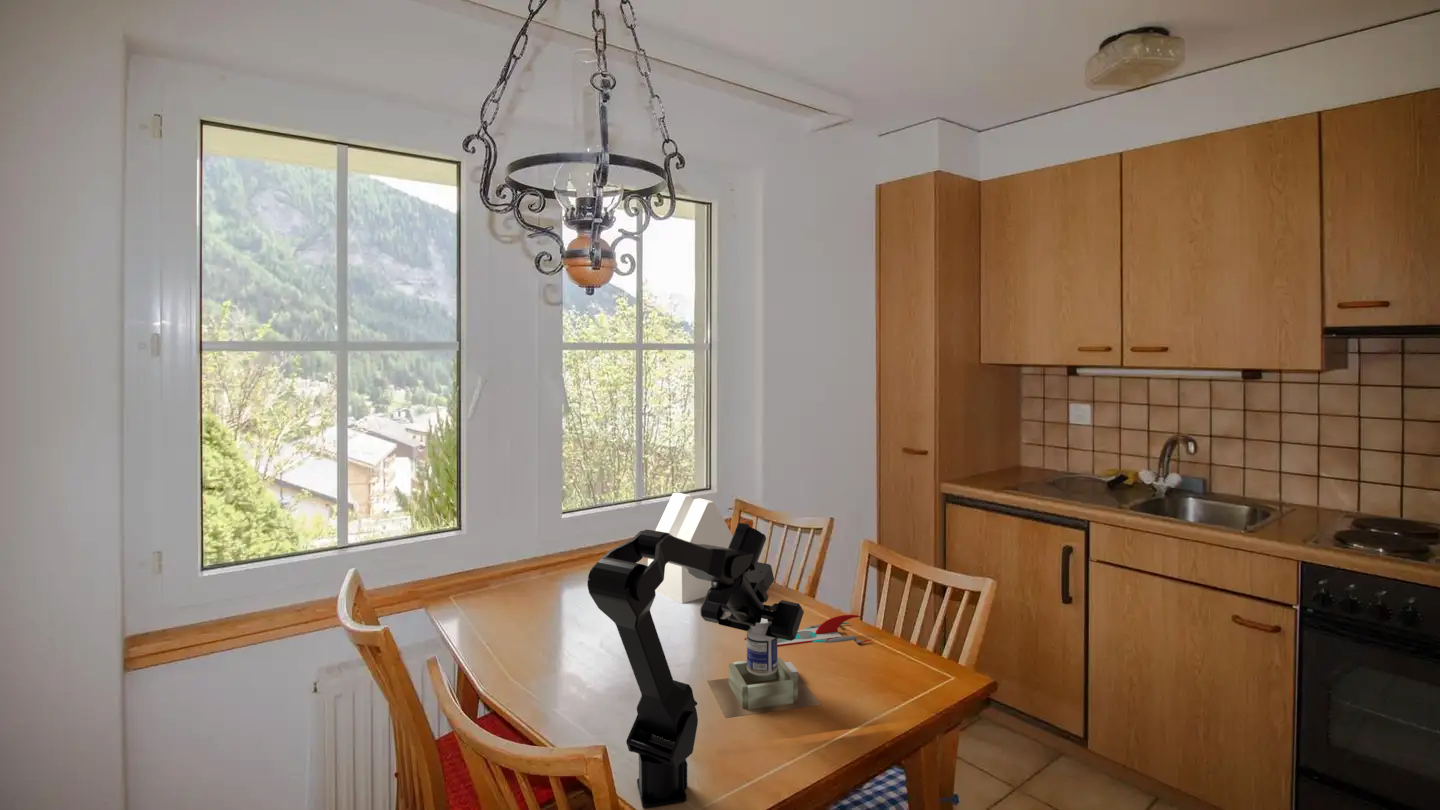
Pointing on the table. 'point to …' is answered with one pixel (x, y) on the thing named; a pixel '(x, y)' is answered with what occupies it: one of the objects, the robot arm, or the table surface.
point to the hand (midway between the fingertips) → (765, 632)
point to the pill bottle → (761, 650)
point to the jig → (760, 691)
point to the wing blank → (792, 669)
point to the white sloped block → (696, 526)
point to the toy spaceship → (822, 633)
